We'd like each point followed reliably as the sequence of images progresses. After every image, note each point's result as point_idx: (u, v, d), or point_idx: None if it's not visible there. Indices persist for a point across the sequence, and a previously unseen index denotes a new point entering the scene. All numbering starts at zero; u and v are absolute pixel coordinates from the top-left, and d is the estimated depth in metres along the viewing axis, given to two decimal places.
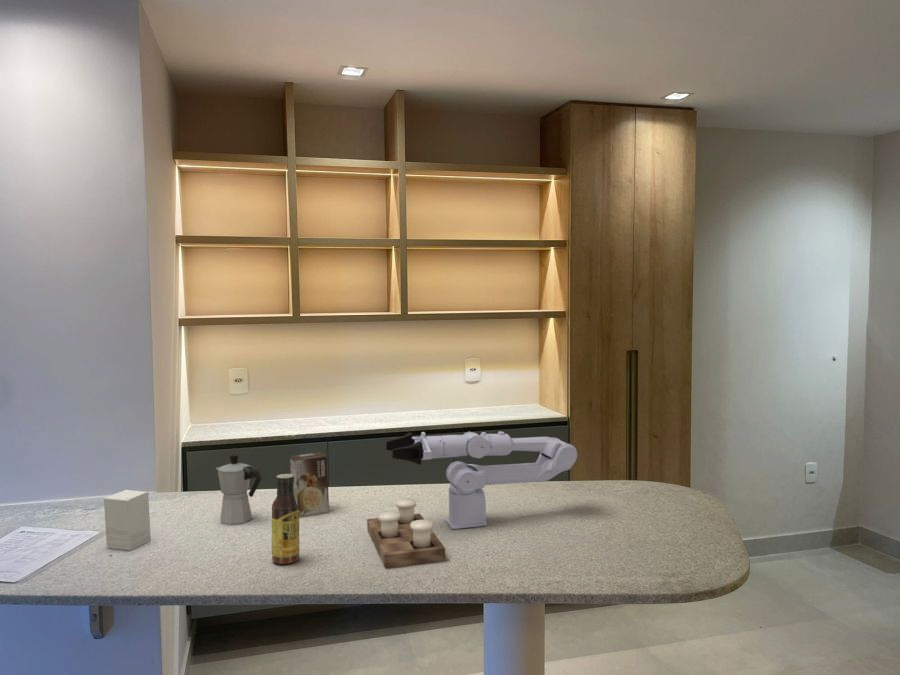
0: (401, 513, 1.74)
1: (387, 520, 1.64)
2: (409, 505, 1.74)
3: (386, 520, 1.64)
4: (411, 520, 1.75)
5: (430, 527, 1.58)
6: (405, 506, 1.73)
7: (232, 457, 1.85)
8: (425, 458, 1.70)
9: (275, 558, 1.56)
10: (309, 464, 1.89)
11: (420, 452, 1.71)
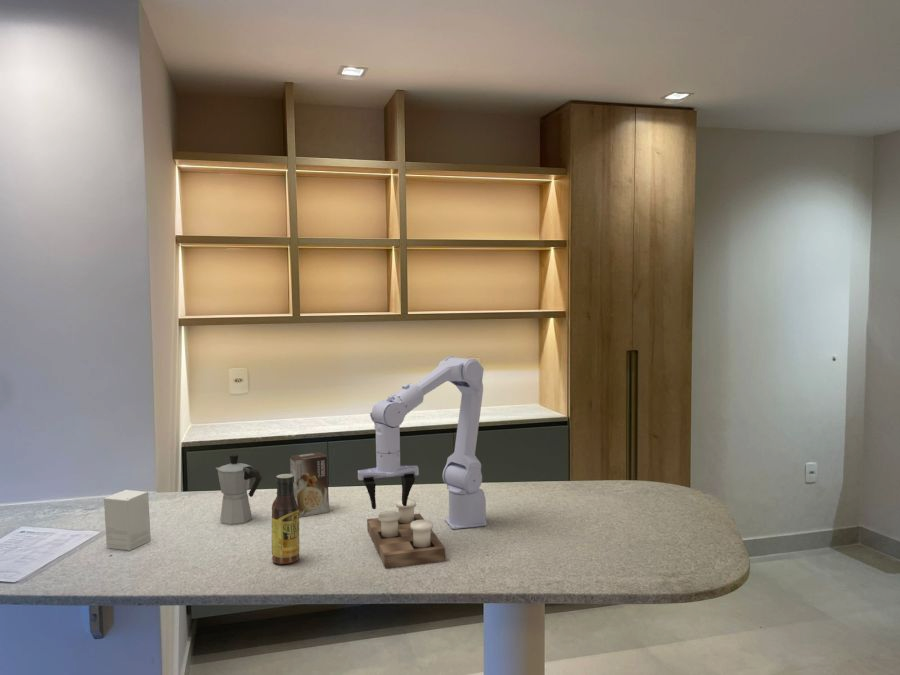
0: (401, 513, 1.74)
1: (387, 520, 1.64)
2: (409, 505, 1.74)
3: (386, 520, 1.64)
4: (411, 520, 1.75)
5: (430, 527, 1.58)
6: (405, 506, 1.73)
7: (232, 457, 1.85)
8: None
9: (275, 558, 1.56)
10: (309, 464, 1.89)
11: None
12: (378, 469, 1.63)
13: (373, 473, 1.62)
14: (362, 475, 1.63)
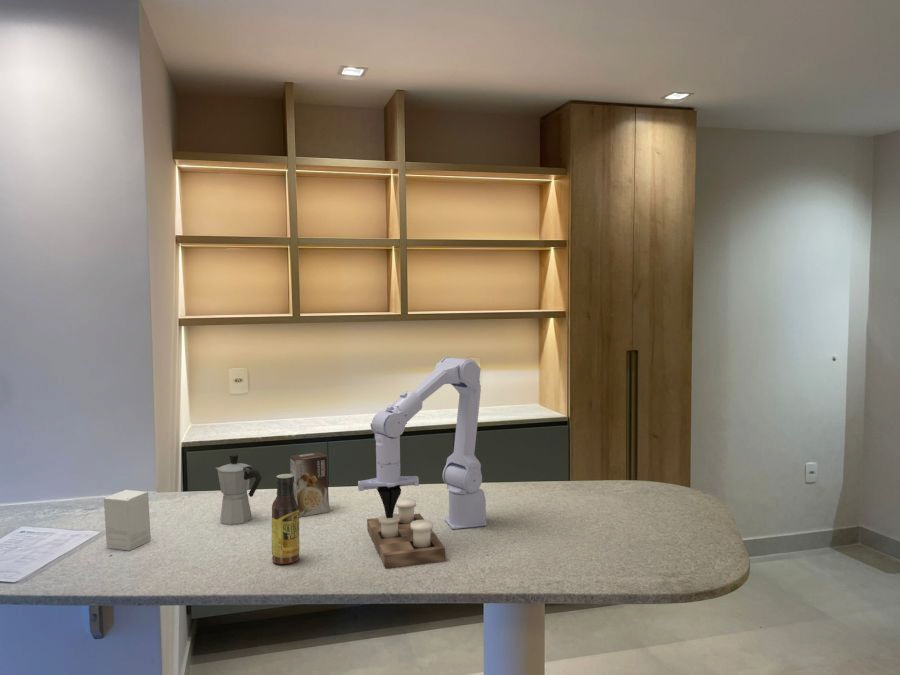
0: (401, 513, 1.74)
1: (387, 522, 1.64)
2: (409, 505, 1.74)
3: (386, 522, 1.64)
4: (411, 520, 1.75)
5: (430, 527, 1.58)
6: (405, 506, 1.73)
7: (232, 457, 1.85)
8: None
9: (275, 558, 1.56)
10: (309, 464, 1.89)
11: None
12: (378, 480, 1.64)
13: (373, 484, 1.63)
14: (362, 486, 1.63)
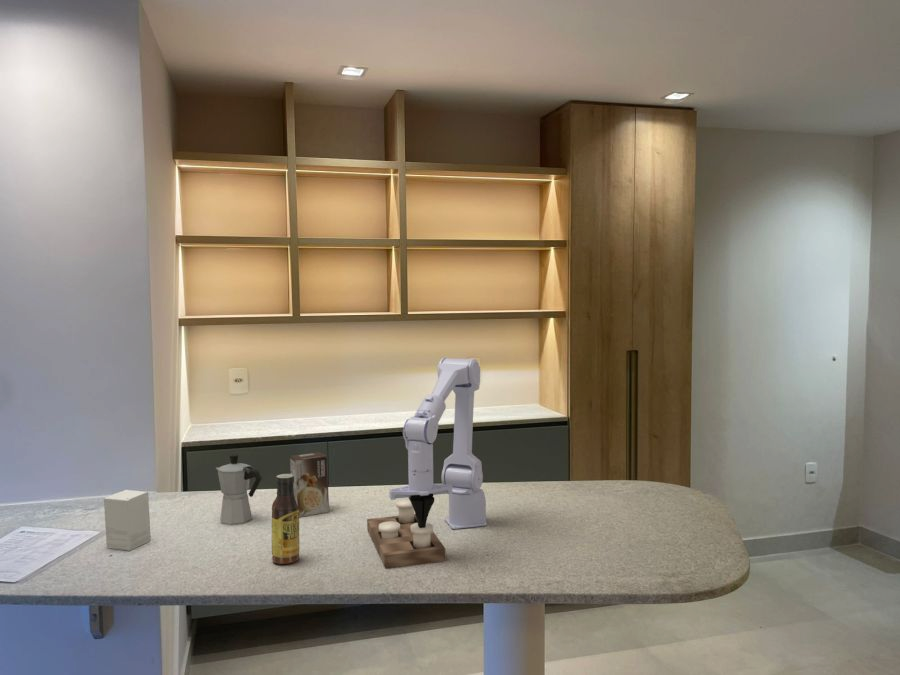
0: (401, 513, 1.74)
1: (387, 531, 1.64)
2: (409, 505, 1.74)
3: (386, 531, 1.64)
4: (411, 520, 1.75)
5: (430, 530, 1.58)
6: (405, 506, 1.73)
7: (232, 457, 1.85)
8: None
9: (275, 558, 1.56)
10: (309, 464, 1.89)
11: None
12: (411, 488, 1.57)
13: (406, 492, 1.56)
14: (394, 494, 1.56)
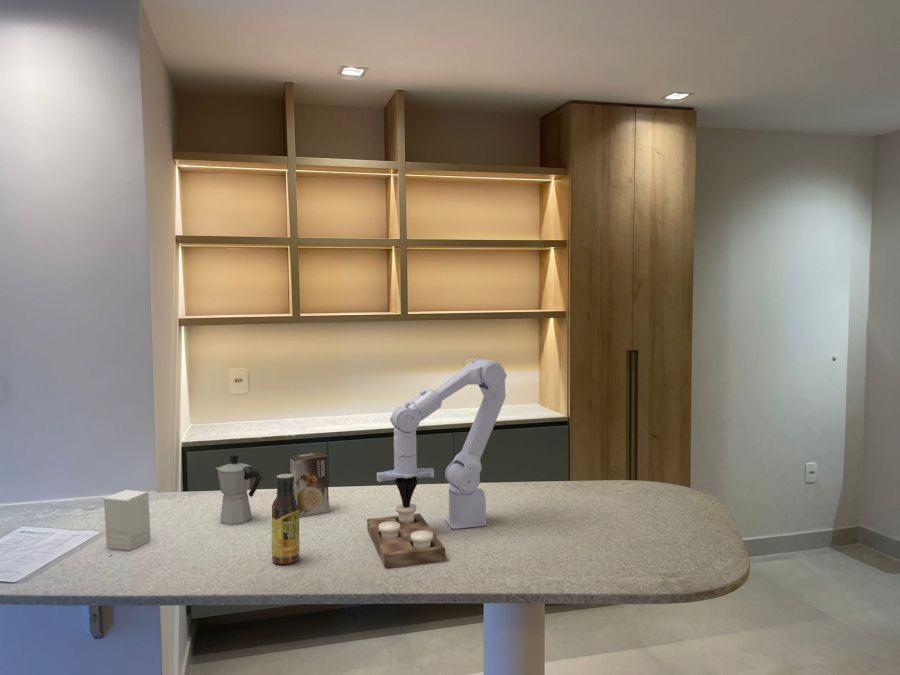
0: (401, 518, 1.75)
1: (387, 531, 1.64)
2: (409, 510, 1.74)
3: (386, 531, 1.64)
4: None
5: (430, 538, 1.58)
6: (405, 511, 1.73)
7: (232, 457, 1.85)
8: None
9: (275, 558, 1.56)
10: (309, 464, 1.89)
11: None
12: (396, 471, 1.73)
13: (391, 475, 1.73)
14: (381, 477, 1.73)
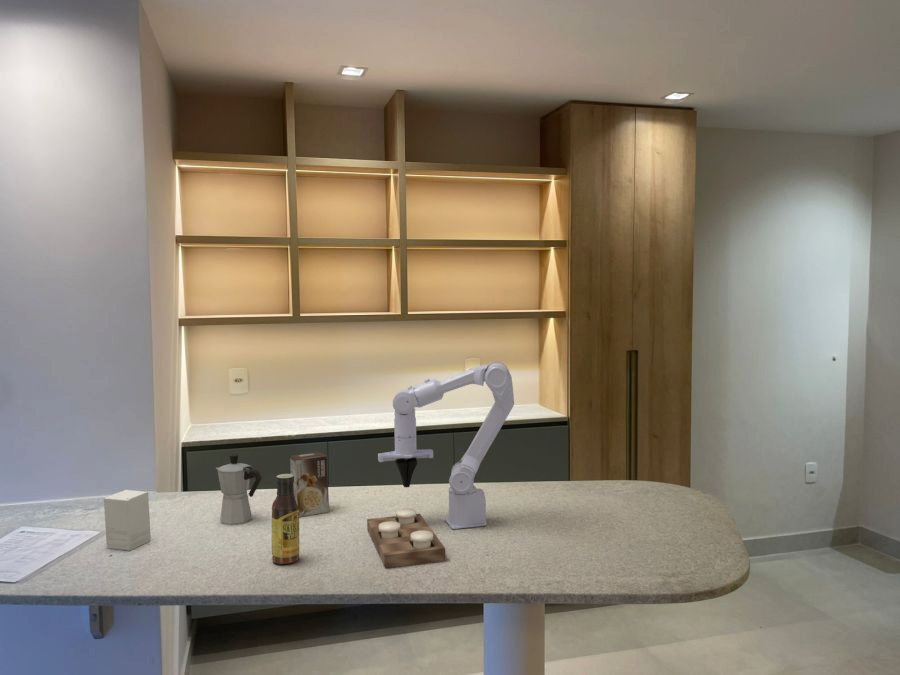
0: (401, 523, 1.75)
1: (387, 531, 1.64)
2: (409, 515, 1.74)
3: (386, 531, 1.64)
4: None
5: (430, 538, 1.58)
6: (405, 516, 1.74)
7: (232, 457, 1.85)
8: None
9: (275, 558, 1.56)
10: (309, 464, 1.89)
11: None
12: (396, 452, 1.80)
13: (392, 456, 1.79)
14: (382, 457, 1.79)
